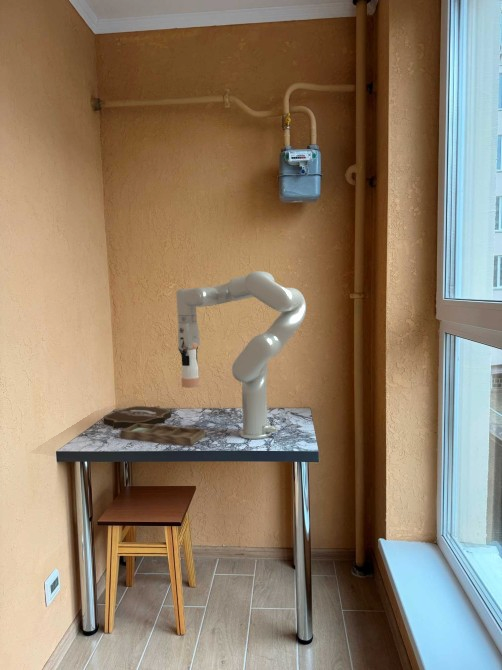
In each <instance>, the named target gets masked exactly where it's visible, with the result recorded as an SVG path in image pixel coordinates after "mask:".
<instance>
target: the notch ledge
mask: <svg viewBox="0 0 502 670" xmlns="http://www.w3.org/2000/svg"><path fill="white" fill-rule="evenodd" d="M119 433H120V439H124V440H132V441H142V442H149V443H150V442H152V443H159V444H160V443H161V444H169V445H176V444H179V445H178V446H185V445H190V446H189V447H191V445H192V446H194V445H195V444H197V443H198V442H200V441H201V440H203V439H204V438H205V437H206V429H205V428H193V427H184V426H174V425H173V426H172V425H164V424H163V425H162V424H155V425H154V424H143V423H136V424H134V425H132V426H130V427H127V428H122V429H121V430H120V432H119ZM202 438H203V439H202ZM199 440H200V441H199ZM196 442H197V443H196ZM194 443H195V444H194Z"/></svg>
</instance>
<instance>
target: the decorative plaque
mask: <svg viewBox="0 0 502 670" xmlns="http://www.w3.org/2000/svg"><path fill="white" fill-rule="evenodd" d="M171 417H172V410H171V409H169V408H163V407H161V406H160V405H157V406H146V405H134V406H130V407H126V408H122V409H117V410H112V412H111V413H109V414H108V413H107V414H105V415H104V416H103V424H104V425H106V426H110V427H113V430H114V429H125V428H127V427H130V426H132V425H134V424H136V423H143V424H154V425H162V424H165V421H166V420H169V419H171Z"/></svg>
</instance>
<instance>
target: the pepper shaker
mask: <svg viewBox="0 0 502 670" xmlns="http://www.w3.org/2000/svg"><path fill="white" fill-rule="evenodd" d="M197 346H198V345H197V343H196V342H195V343H193V346H192V348H188V349H189V352H188V356H189V362H190V365H189V366H182V365H181V375H182V376H181V387H182V388H184V389H187V388H197V387H200V386H201V382H200V376H199V366H198V359H197V360H196V348H197ZM198 347H199V346H198ZM183 348H187V347H186V346H185V345H183ZM185 351H186V350H185Z"/></svg>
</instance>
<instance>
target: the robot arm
mask: <svg viewBox="0 0 502 670" xmlns="http://www.w3.org/2000/svg"><path fill="white" fill-rule="evenodd" d="M249 298H255V299H257V300H258V301H259V302H262V303H263V304H265V305H266V306H267V307H269V308H271V309H273V310H274V311H276V312H281V313H280V314H279V315H278V316H277V317H276V319H275V320H274V321H273V322H272V324H271V325H270V326H269V328H268V329H267V330H266V331H264V332H263V333H260V334H257V335H255V336H254V337H253V338H252V339H251V340H249V342H248V343H247V345H246V346H245V347H244V348H243V349H242V351H241V352H240V353H239V354H238V356H237V357H236V358H235V359H234V362H233V363H232V367H231V371H232V376H233V378H234V379H236V381H238V382H240V383H241V405H242V406H241V408H242V412H241V413H242V429H240V430H239V433H238V434H239V435H238V436H240V437H242V438H245V439H249V440H258V439H259V440H260V439H265V438H268V437H270V436H271V435H272V433H278V432H279V431H278V430H279V429H278V427H277V426H276V425H271V424H270V423H271V422H270V421H268V405H267V404H268V399H267V398H268V397H267V395H268V392H267V389H268V385H267V382H268V373H269V372H268V371H269V370H268V369H269V367H268V362H269V360H270V359H272V358H275V357H277V356H278V354H279V353H280V352H281V351H282V349H283V348H284V347H285V345H286V344H287V343H288V342H289V340H290V339H291V338H292V337H293V336H294V334H295V333H296V331H297V330H298V329H299V327H300V326H301V325H302V323H303V321H304V319H305V316H306V311H307V303H306V300H305V298H304V295H303V293H302V292H301V291H300V290H298V289H297V288H295V287H284V286H282V285H280V284H279V283H277V282H275V278H274V276H273V275H272V274H271V273H269V272H267V271H263V270H262V271H258V270H257V271H256V270H254V271H252V272H249V273H248V274H247V275H243V276H238V277H233V278H230V280H229V282H226V283H223V284H220V285H215V286H209V287H208V286H207V287H201V286H200V287H195V288H179V289H178V290H177V291H176V310H177V325H178V327H177V343H178V346H177V350H178V352H179V353H180V356H181V367H182V366H189V365H190V362H189V356H188V352H189V349H188V348H192V346H193V343H195V342H196V343H197V345H198V346H197V348H196V360H197V361H198V349H199V347H200V345H201V342H200V341H201V340H200V331H199V330H200V329H199V326H198V319H197V318H198V317H197V308H198V307H199V308H203V307H212V306H217V305H221V304H227V303H230V302H231V303H232V302H237V301H242V300H245V299H249ZM183 345H185V346H186V347H187V348H183ZM185 350H186V351H185Z"/></svg>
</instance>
